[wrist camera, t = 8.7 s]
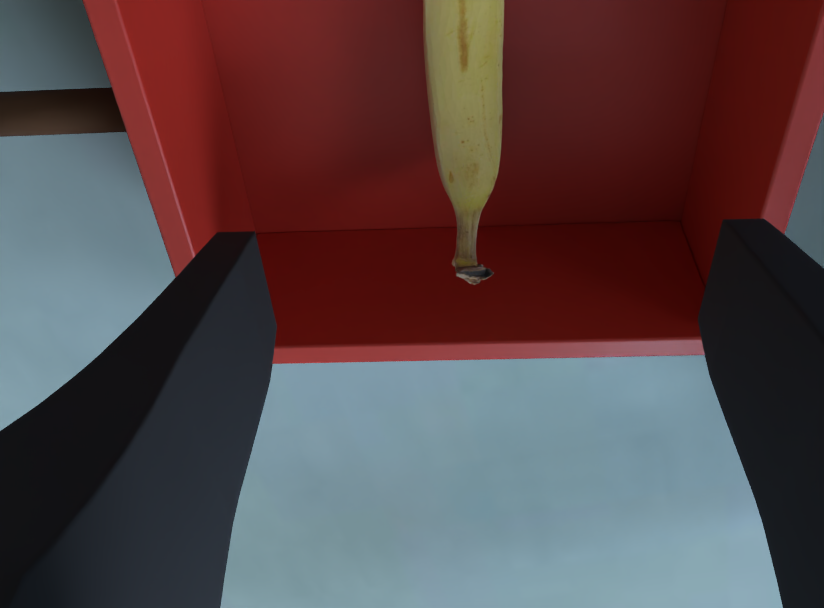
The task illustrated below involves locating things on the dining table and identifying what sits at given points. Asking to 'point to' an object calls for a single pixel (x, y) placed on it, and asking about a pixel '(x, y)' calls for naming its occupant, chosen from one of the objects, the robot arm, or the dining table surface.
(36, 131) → the cart wheels
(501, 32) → the banana
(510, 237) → the cart
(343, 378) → the dining table surface
